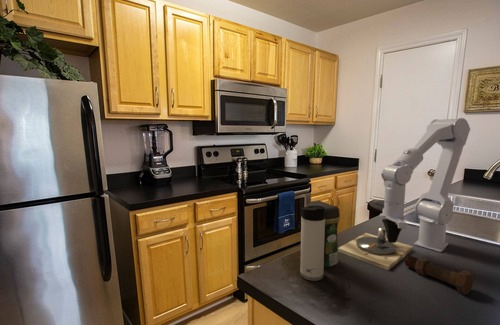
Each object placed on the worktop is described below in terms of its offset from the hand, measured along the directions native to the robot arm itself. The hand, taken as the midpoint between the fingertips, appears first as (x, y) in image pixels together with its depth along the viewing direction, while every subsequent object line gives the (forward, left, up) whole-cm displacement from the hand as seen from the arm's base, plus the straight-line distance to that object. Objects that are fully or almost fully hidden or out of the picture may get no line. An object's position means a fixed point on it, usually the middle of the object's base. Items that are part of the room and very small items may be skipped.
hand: (391, 241), depth 86 cm
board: (+3, -4, -3) cm, 6 cm away
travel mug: (+32, -9, -4) cm, 33 cm away
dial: (+3, -4, -2) cm, 5 cm away
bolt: (+8, +14, -4) cm, 17 cm away
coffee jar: (+23, -12, -4) cm, 26 cm away
